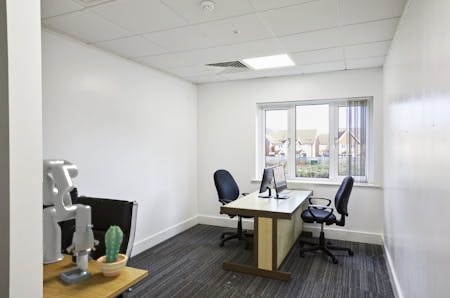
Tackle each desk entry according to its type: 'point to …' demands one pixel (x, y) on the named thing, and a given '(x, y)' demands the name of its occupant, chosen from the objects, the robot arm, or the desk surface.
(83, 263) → the shaker
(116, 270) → the potted cactus
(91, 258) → the medicine bottle
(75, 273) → the tray
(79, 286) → the desk surface
